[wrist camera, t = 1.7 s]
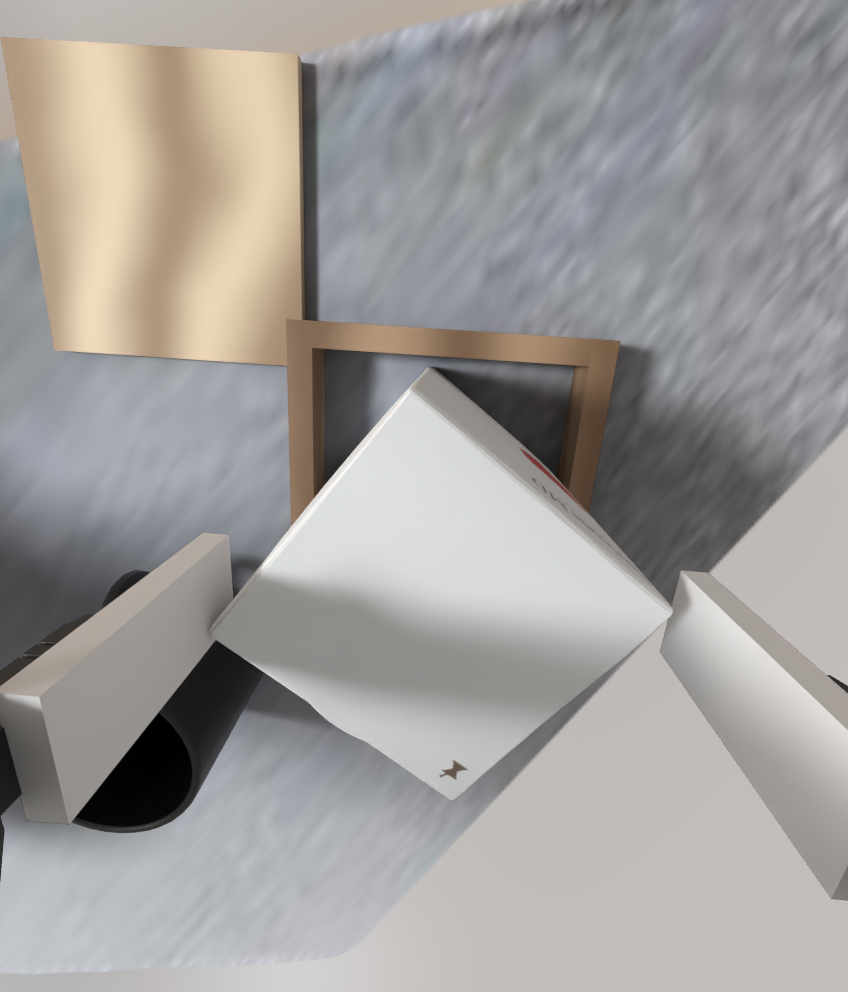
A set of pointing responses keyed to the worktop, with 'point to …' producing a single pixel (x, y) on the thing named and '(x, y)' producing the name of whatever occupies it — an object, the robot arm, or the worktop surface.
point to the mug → (173, 742)
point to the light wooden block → (164, 195)
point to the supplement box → (441, 593)
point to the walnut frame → (315, 336)
